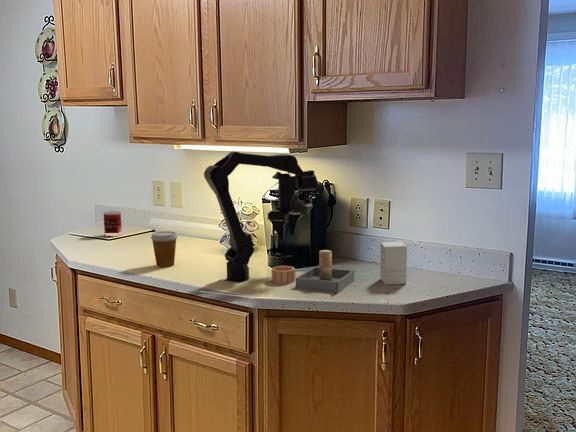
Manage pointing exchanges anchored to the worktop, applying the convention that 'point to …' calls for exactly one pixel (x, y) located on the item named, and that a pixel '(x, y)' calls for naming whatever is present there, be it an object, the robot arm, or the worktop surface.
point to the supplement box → (393, 263)
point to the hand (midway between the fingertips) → (287, 237)
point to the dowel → (325, 265)
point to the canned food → (112, 222)
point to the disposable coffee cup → (164, 248)
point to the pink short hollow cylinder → (283, 274)
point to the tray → (337, 284)
